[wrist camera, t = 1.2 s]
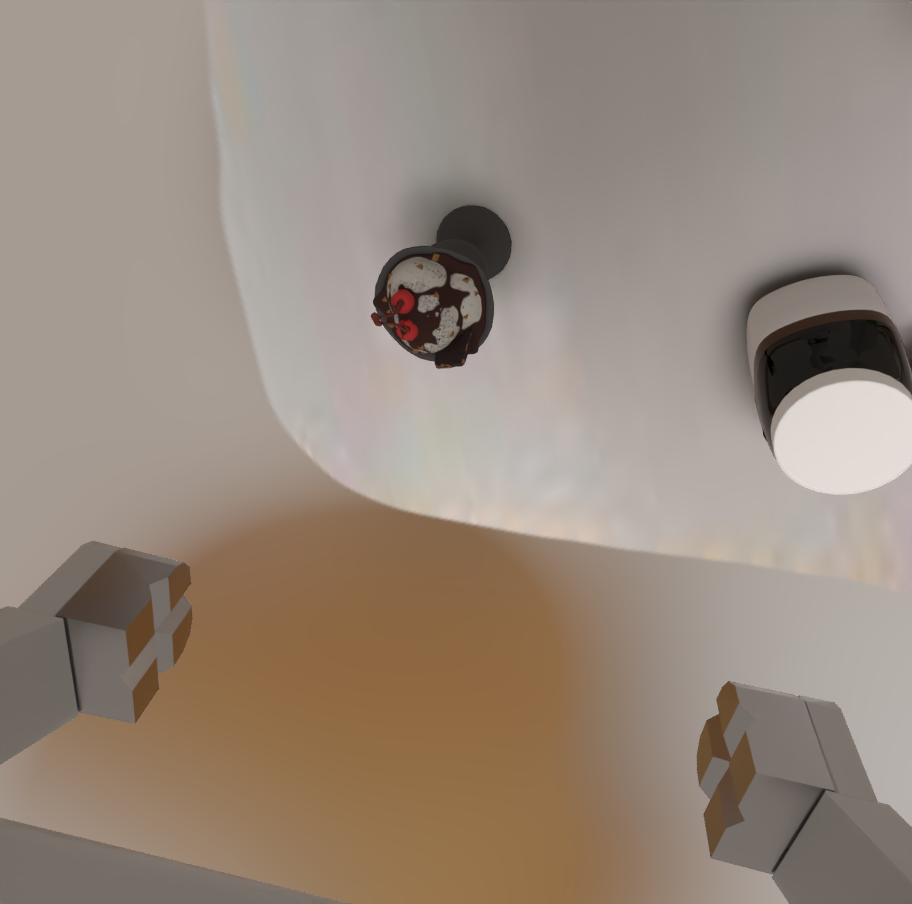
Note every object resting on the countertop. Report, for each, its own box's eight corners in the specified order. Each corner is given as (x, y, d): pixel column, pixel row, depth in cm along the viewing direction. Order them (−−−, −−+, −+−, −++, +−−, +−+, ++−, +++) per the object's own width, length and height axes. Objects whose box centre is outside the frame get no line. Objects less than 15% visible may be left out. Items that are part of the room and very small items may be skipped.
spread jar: (731, 282, 45) (746, 371, 36) (945, 226, 41) (1025, 311, 32) (765, 442, 51) (786, 555, 42) (957, 407, 46) (1028, 525, 37)
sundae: (424, 185, 46) (338, 271, 34) (530, 198, 45) (479, 293, 33) (421, 284, 50) (343, 392, 38) (518, 299, 49) (469, 415, 37)
